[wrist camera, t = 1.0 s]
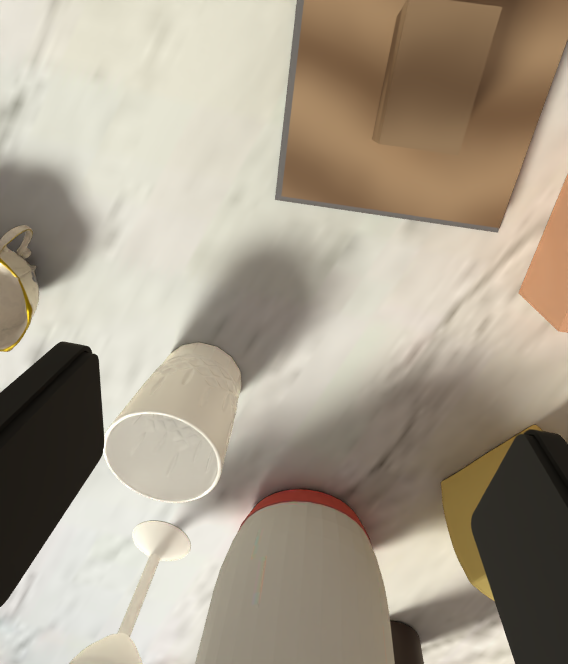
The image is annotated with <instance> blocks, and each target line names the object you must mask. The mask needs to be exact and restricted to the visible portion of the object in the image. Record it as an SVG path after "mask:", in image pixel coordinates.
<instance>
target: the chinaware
mask: <svg viewBox="0 0 568 664" xmlns="http://www.w3.org/2000/svg"><path fill="white" fill-rule="evenodd" d="M24 231H26V234H25V237H24V239H23V242H22V244H21V245H20V247H19V248H18V249H17V253H18V254H17V253H16V252H15V251H14V252H13V251H11V250H9V249H8V248H7V246H6V245H7V244H8V243H10V242H11V241H12V240H13V239H14V238H15V237H17V236H18V235H19V234H21V233H22V232H24ZM32 235H33V231H32V229H31V228H30V227H28V226H26V225H21V226H17V227H15V228H13V229H11V230H10V231H8V232H7V233H6V234H5V235H4V236H3V237H2V238H1V240H0V351H3V352H8V351H11V350H12V349H13V348H14V347H15V346H16V345H17V344H18V343H19V342H20V340H21V339H22V337H23V336H24V334H25V333H26V330H27V329H28V327H29V325H30V322H31V319H32V316H33V315H34V313H35V311H36V308H37V305H38V301H39V286H38V282H37V279H36V274H35V269H36V267H37V266H35V265H31V264H29V263H28V262H27V261H26V260H24V259H23V258H28V257H29V256H30V255H31V251H30V250H29V249H28V248H27V246H28V244H29V242H30V240H31V238H32ZM21 257H22V258H21Z"/></svg>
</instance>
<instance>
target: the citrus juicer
mask: <svg viewBox="0 0 568 664" xmlns="http://www.w3.org/2000/svg"><path fill="white" fill-rule="evenodd" d="M195 664H395V661H394V652H393V643H392V635H391V626H390V617H389V610H388V604H387V598H386V592H385V587H384V583H383V579H382V576H381V572H380V569H379V565H378V562H377V558H376V556H375V553H374V551H373V549H372V546H371V542H370V538H369V536H368V535H367V533H366V531H365V529H364V527H363V525H362V524H361V522H360V520H359V519H358V517H357V515H356V514H355V513H354V511H353V510H352V509H351V508H350V507H349V506H348V505H346V504H345V503H343V502H342V501H341V500H339V499H337V498H335V497H333V496H331V495H328V494H325V493H322V492H318V491H312V490H302V489H295V490H285V491H281V492H278V493H274V494H272V495H270V496H268V497H266V498H264V499H263V500H262V501H260V502H259V503H258V504H257V505H256V506H255V507H254V509H253V510H252V511H251V512H250V514H249V515H248V516H247V517H246V519H245V520H244V521H243V523H242V524H241V526H240V529H239V531H238V533H237V535H236V536H235V538H234V540H233V542H232V544H231V546H230V548H229V551H228V553H227V555H226V557H225V560H224V562H223V564H222V566H221V569H220V572H219V575H218V578H217V581H216V584H215V588H214V591H213V595H212V599H211V603H210V607H209V611H208V615H207V619H206V623H205V627H204V631H203V635H202V639H201V642H200V646H199V650H198V654H197V658H196V662H195Z"/></svg>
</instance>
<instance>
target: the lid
mask: <svg viewBox="0 0 568 664" xmlns="http://www.w3.org/2000/svg"><path fill="white" fill-rule="evenodd" d="M567 40H568V0H304V5H303V14H302V22H301V31H300V40H299V48H298V57H297V65H296V74H295V83H294V91H293V100H292V108H291V117H290V126H289V134H288V143H287V152H286V160H285V169H284V177H283V186H282V195H281V196H283V197H290V198H297V199H304V200H310V201H317V202H324V203H331V204H338V205H345V206H351V207H358V208H365V209H372V210H379V211H385V212H392V213H399V214H406V215H413V216H419V217H426V218H433V219H440V220H447V221H454V222H460V223H467V224H474V225H481V226H488V227H494V228H499V227H500V224H501V222H502V219H503V216H504V213H505V211H506V208H507V205H508V202H509V200H510V197H511V194H512V191H513V189H514V186H515V183H516V180H517V178H518V175H519V172H520V169H521V166H522V164H523V161H524V158H525V155H526V153H527V150H528V147H529V144H530V142H531V139H532V136H533V133H534V131H535V128H536V125H537V122H538V120H539V117H540V114H541V111H542V109H543V106H544V103H545V100H546V97H547V95H548V92H549V89H550V86H551V84H552V81H553V78H554V75H555V73H556V70H557V67H558V64H559V62H560V59H561V56H562V53H563V51H564V48H565V45H566V42H567Z"/></svg>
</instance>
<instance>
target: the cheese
mask: <svg viewBox="0 0 568 664" xmlns="http://www.w3.org/2000/svg"><path fill="white" fill-rule="evenodd" d="M529 429H533V430H539V431H542V430H541V429H540V428H539V427H538V426H537V425H532V426H530V427H529V428H527V429H526V430H524V431H522V432H521V433H519V434H524V432H525V431H527V430H529ZM519 434H518V435H519ZM516 436H517V435H516ZM516 436H514V437H513V438H511V439H509V440H508V441H506V442H505V443H503V444H501V445H500V446H498V447H496V448H495V449H493V450H492V451H490V452H488V453H487V454H485V455H484V456H482V457H481V458H479V459H478V460H476V461H474V462H473V463H471V464H470V465H468V466H467V467H465V468H464V469H462V470H461V471H459V472H457V473H456V474H454V475H452V476H451V477H449V478H447V479H445V480H444V481H442V482H441V490H442V502H443V509H444V514H445V519H446V523H447V527H448V531H449V534H450V538H451V541H452V545H453V548H454V551H455V553H456V556H457V558H458V560H459V562H460V564H461V566H462V568H463V570H464V572H465V574H466V576H467V578H468V579H469V581H470V583H471V584H472V585H473V586H474V587H476V588H477V589H478V590H479V591H480V592H482V593H483V594H485V595H486V596H487V597H489V598H490V599H492V600H493V601H495V600H494V597H493V594H492V591H491V588H490V585H489V582H488V579H487V576H486V573H485V570H484V567H483V564H482V561H481V558H480V555H479V552H478V549H477V545H476V542H475V539H474V536H473V533H472V529H471V518H472V515H473V512H474V510H475V509H476V507H477V505H478V503H479V502H480V500H481V498H482V496H483V494H484V493H485V491H486V489H487V487H488V485H489V484H490V482H491V480H492V478H493V476H494V475H495V473H496V471H497V469H498V467H499V466H500V464H501V462H502V460H503V458H504V457H505V455H506V453H507V451H508V450H509V448H510V446H511V444H512V442H513V441H514V439H515V437H516Z"/></svg>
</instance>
